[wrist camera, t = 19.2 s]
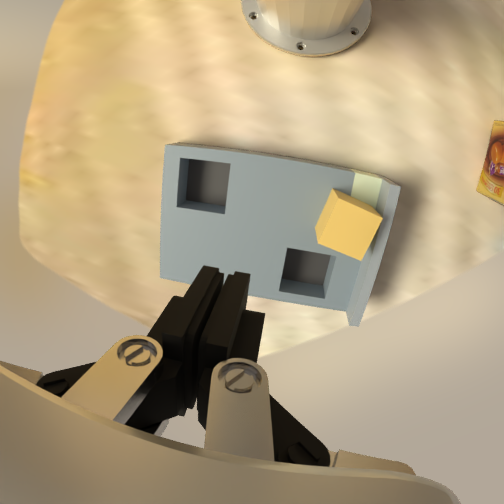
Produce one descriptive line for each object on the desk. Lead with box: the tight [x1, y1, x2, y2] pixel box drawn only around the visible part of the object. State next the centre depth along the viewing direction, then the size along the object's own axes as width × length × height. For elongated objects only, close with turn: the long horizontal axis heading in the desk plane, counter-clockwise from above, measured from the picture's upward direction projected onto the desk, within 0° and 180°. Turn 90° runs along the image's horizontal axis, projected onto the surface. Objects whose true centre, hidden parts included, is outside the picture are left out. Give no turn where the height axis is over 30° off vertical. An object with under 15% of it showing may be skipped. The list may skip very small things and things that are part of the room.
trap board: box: [160, 143, 401, 326], centre depth 29 cm, size 14×21×6 cm, turn 83°
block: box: [315, 188, 383, 261], centre depth 25 cm, size 4×4×4 cm
